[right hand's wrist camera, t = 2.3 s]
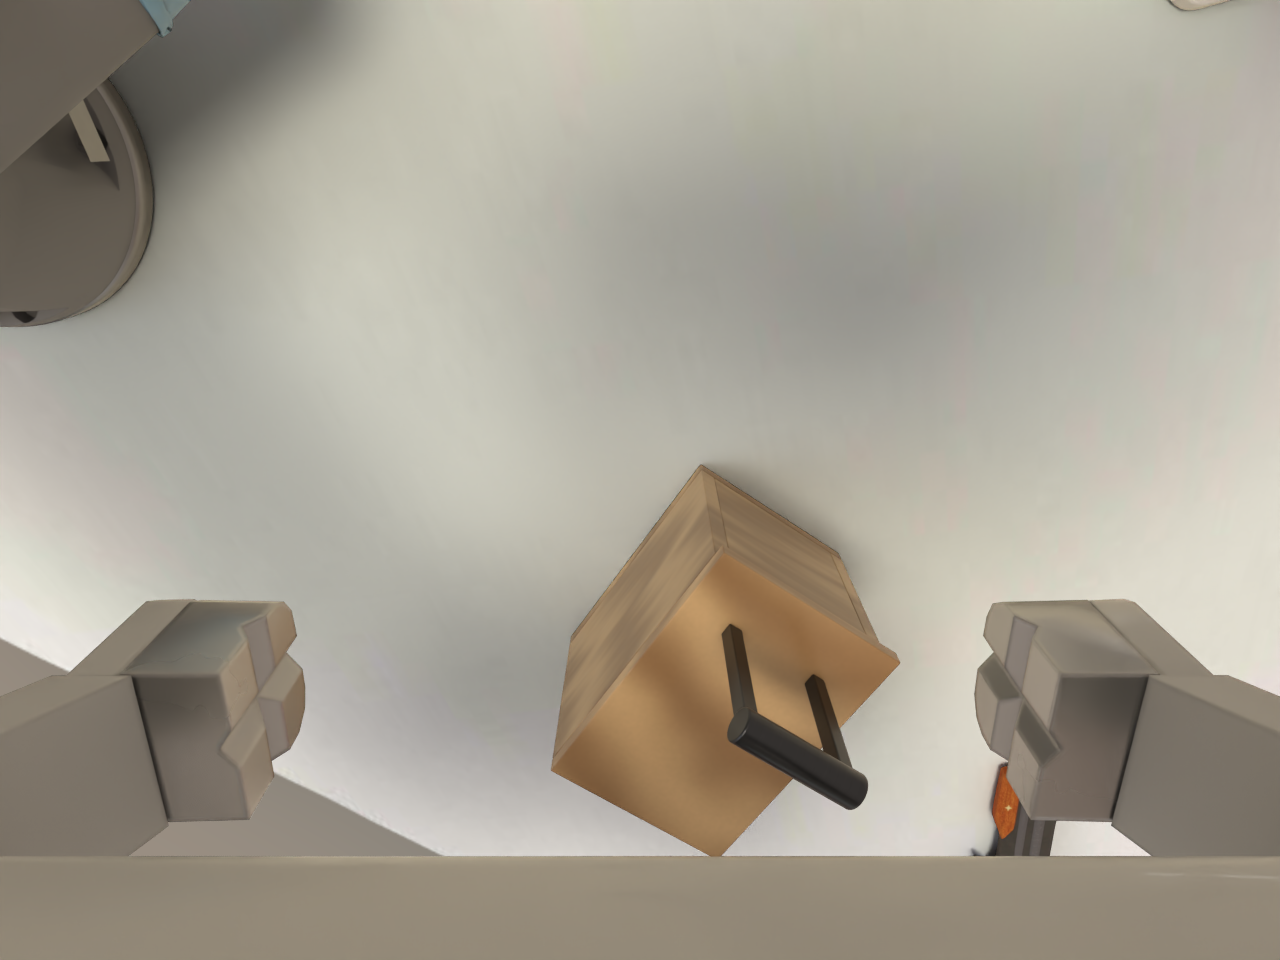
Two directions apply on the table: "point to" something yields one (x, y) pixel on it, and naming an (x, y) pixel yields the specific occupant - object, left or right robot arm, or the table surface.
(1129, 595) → the table surface
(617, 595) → the chest
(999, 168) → the table surface
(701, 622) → the lid
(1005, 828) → the toy gun
